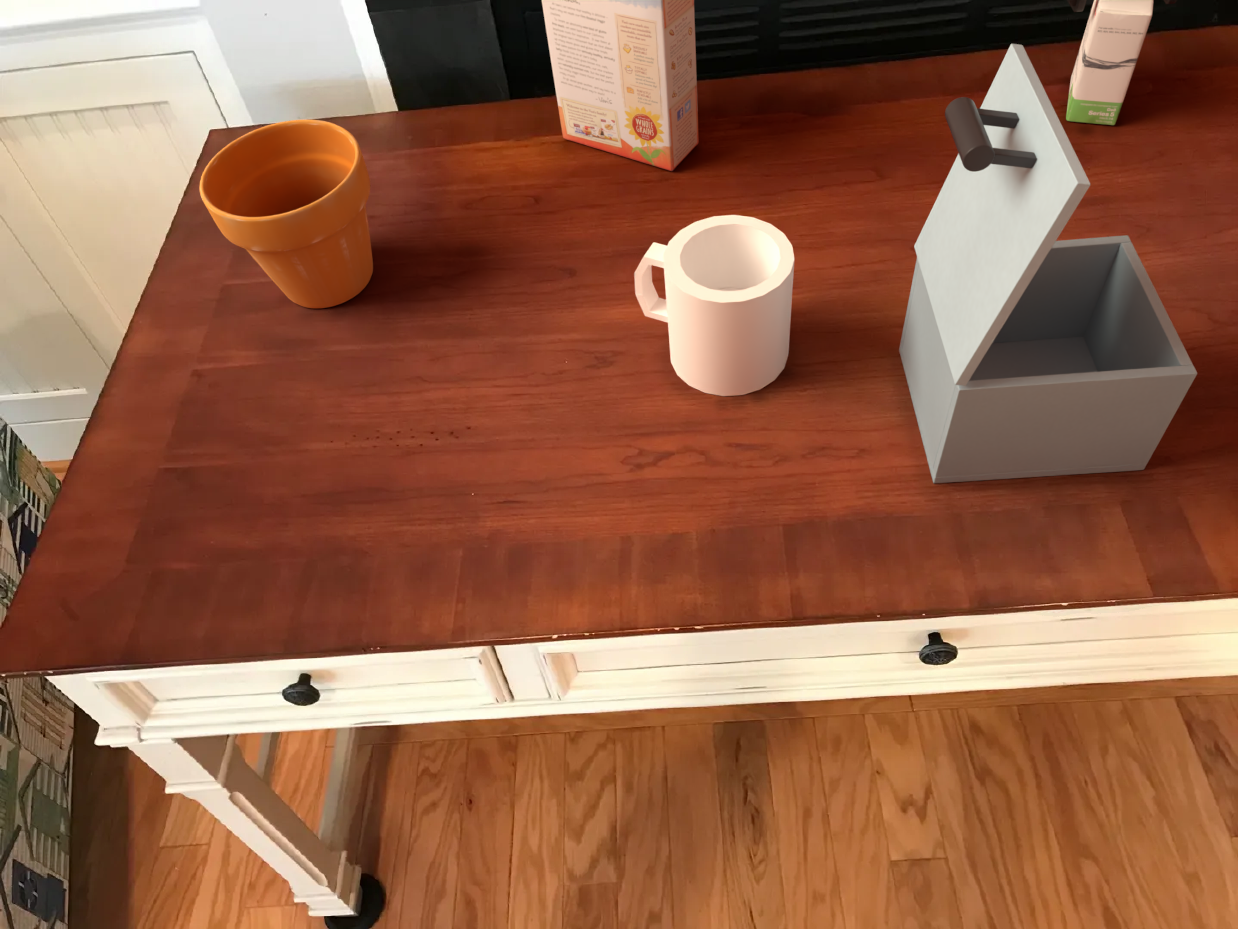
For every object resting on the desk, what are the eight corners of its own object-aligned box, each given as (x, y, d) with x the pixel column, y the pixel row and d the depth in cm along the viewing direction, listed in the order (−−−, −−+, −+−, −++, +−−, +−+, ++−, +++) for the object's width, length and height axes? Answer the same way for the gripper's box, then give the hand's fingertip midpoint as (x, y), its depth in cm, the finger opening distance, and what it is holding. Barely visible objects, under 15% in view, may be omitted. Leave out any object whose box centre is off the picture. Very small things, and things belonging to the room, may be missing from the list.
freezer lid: (1022, 44, 62) (944, 34, 61) (1091, 184, 53) (1000, 174, 52) (923, 247, 74) (857, 240, 74) (965, 386, 66) (891, 379, 65)
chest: (1087, 336, 82) (1128, 234, 74) (1143, 470, 74) (1197, 373, 65) (898, 349, 83) (917, 251, 75) (933, 483, 75) (959, 389, 66)
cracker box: (701, 143, 103) (695, -62, 87) (672, 175, 101) (660, -30, 84) (592, 110, 109) (566, -88, 92) (561, 139, 106) (529, -59, 89)
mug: (615, 365, 85) (602, 272, 77) (665, 289, 90) (658, 194, 82) (761, 410, 81) (764, 317, 72) (805, 328, 86) (813, 231, 77)
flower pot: (235, 329, 93) (173, 219, 82) (282, 230, 101) (230, 119, 91) (379, 331, 91) (334, 218, 80) (414, 230, 99) (377, 116, 89)
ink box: (1115, 127, 99) (1155, 14, 89) (1063, 121, 100) (1097, 9, 91) (1120, 80, 103) (1158, -33, 94) (1070, 75, 105) (1102, -36, 95)
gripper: (1111, -161, 79) (1056, 31, 92) (1294, -179, 78) (1213, 17, 91) (1082, -198, 83) (1034, -10, 96) (1256, -215, 82) (1183, -23, 95)
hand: (1121, 3), depth 93 cm, fingers open, 8 cm apart
